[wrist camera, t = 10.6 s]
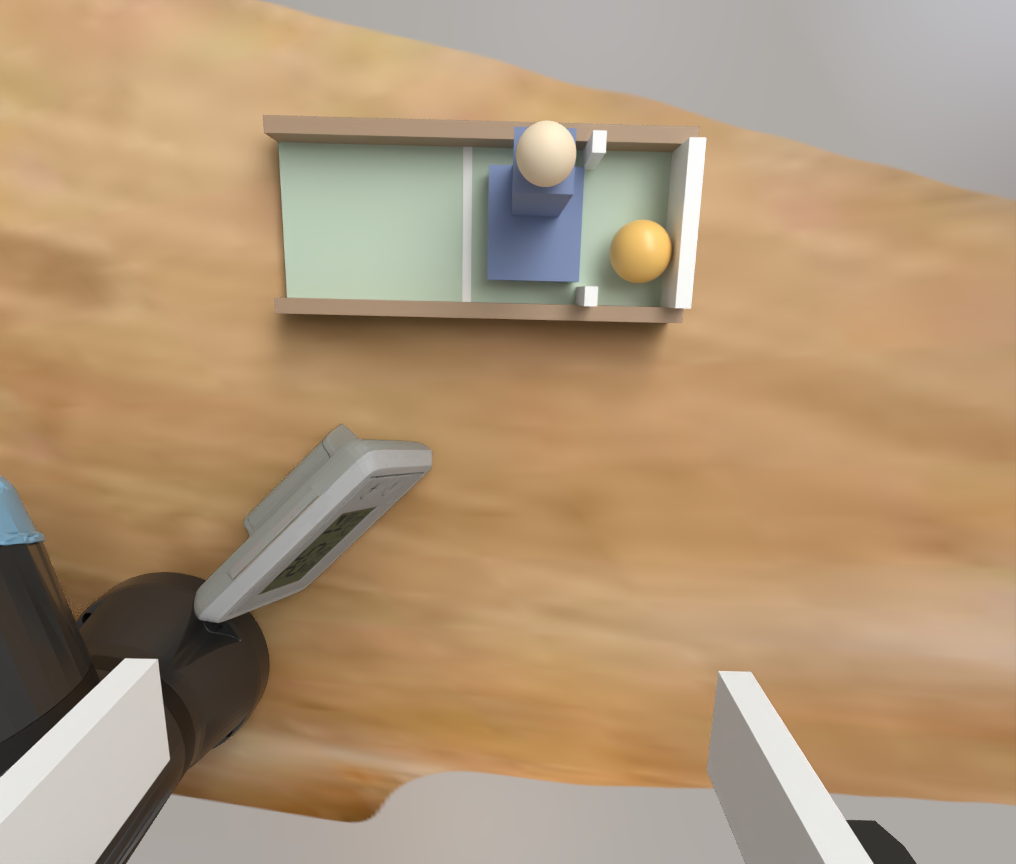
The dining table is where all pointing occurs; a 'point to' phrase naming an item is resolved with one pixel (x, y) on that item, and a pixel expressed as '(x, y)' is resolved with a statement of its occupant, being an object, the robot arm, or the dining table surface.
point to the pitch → (471, 218)
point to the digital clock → (311, 520)
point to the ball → (640, 251)
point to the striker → (536, 208)
